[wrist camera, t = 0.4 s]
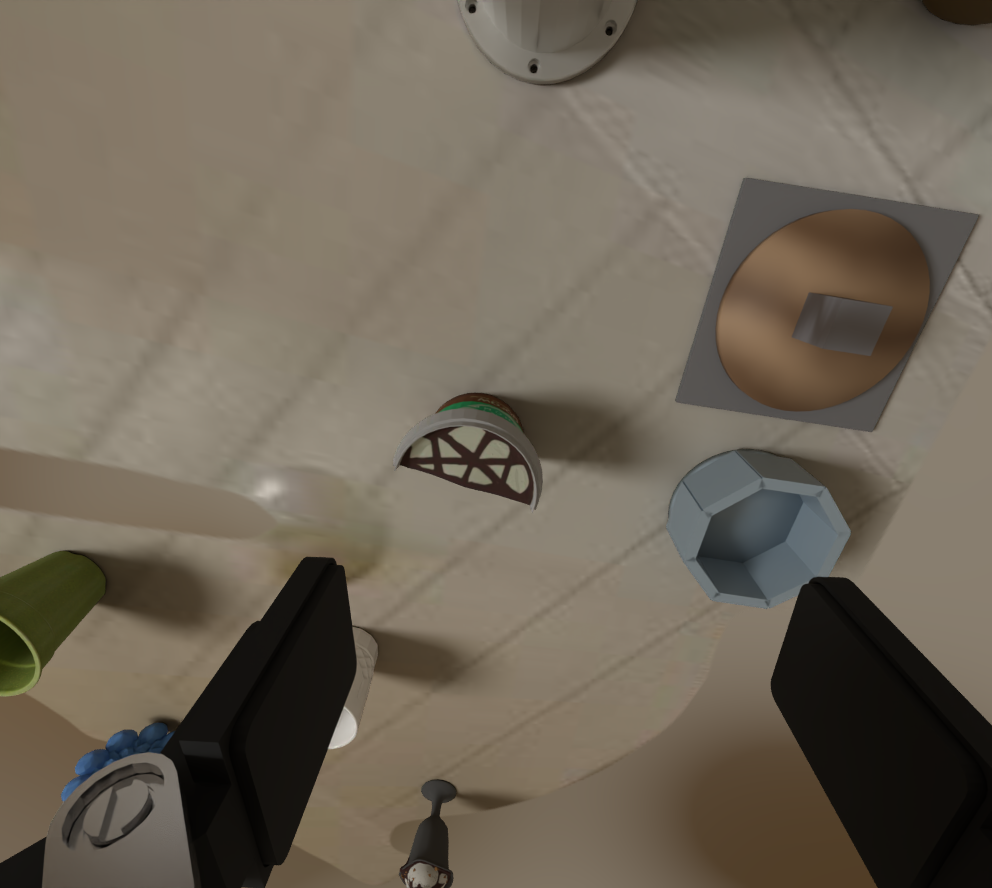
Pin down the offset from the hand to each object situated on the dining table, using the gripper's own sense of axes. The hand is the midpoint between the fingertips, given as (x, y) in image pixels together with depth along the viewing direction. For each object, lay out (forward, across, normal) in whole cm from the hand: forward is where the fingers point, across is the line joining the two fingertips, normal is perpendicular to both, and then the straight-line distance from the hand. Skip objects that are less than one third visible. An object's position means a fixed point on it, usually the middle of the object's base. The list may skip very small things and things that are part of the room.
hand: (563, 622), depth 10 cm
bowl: (+35, -21, +17) cm, 44 cm away
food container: (+35, +4, +8) cm, 36 cm away
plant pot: (+35, +51, +29) cm, 68 cm away
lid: (+34, -24, -2) cm, 42 cm away
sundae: (+35, +10, +64) cm, 74 cm away
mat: (+35, -24, -2) cm, 42 cm away
